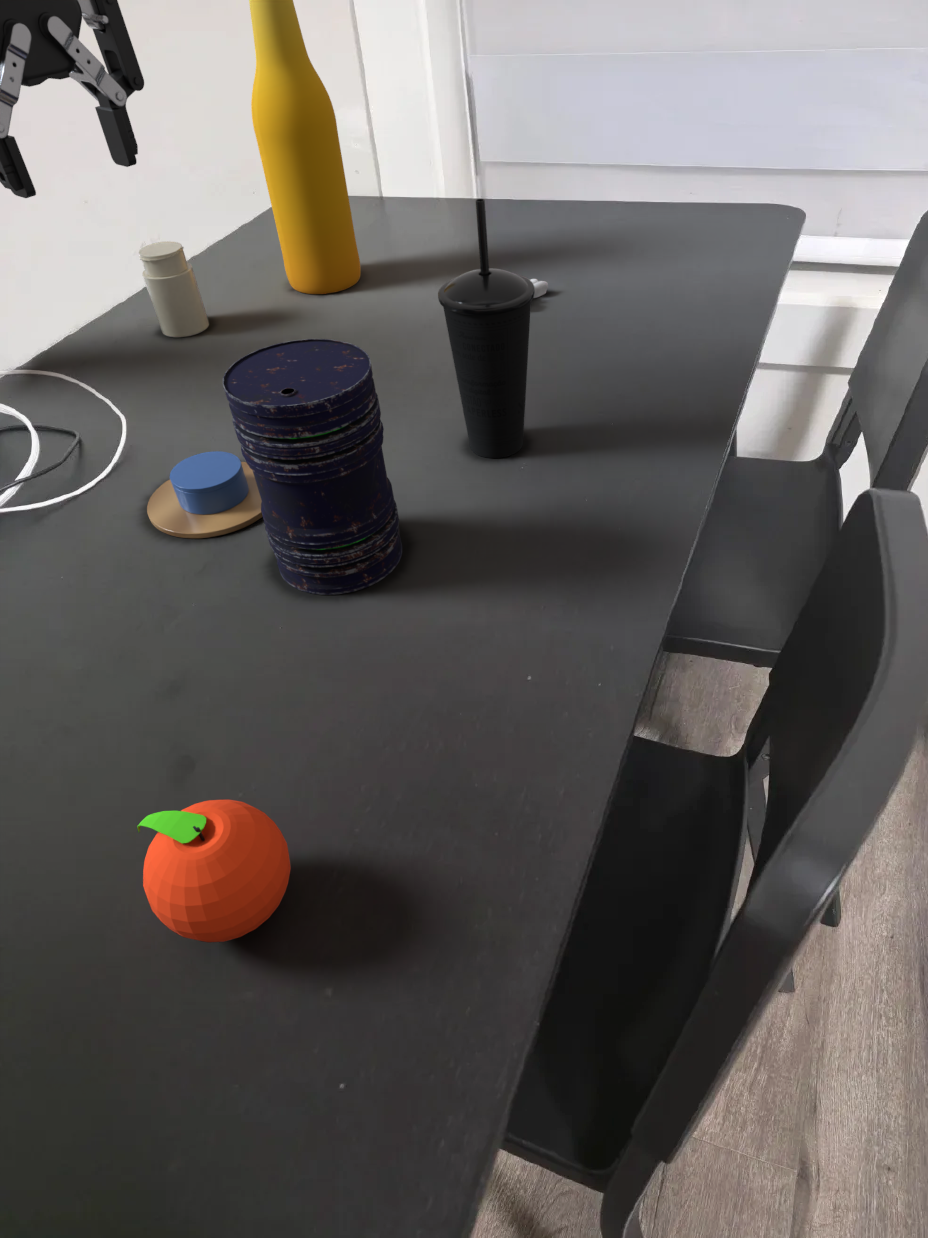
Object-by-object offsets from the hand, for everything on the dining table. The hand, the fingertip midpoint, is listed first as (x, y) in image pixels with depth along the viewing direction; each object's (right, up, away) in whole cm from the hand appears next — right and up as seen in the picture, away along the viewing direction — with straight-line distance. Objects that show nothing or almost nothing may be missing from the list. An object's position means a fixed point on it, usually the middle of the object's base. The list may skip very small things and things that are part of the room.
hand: (77, 179), depth 63 cm
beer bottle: (+9, +13, +44) cm, 47 cm away
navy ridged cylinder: (+19, -28, +3) cm, 34 cm away
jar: (-6, +4, +36) cm, 36 cm away
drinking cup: (+31, -16, +14) cm, 38 cm away
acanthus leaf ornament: (+32, +7, +37) cm, 49 cm away
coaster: (+7, -22, +9) cm, 25 cm away
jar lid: (+7, -20, +8) cm, 22 cm away
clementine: (+17, -49, -18) cm, 55 cm away
